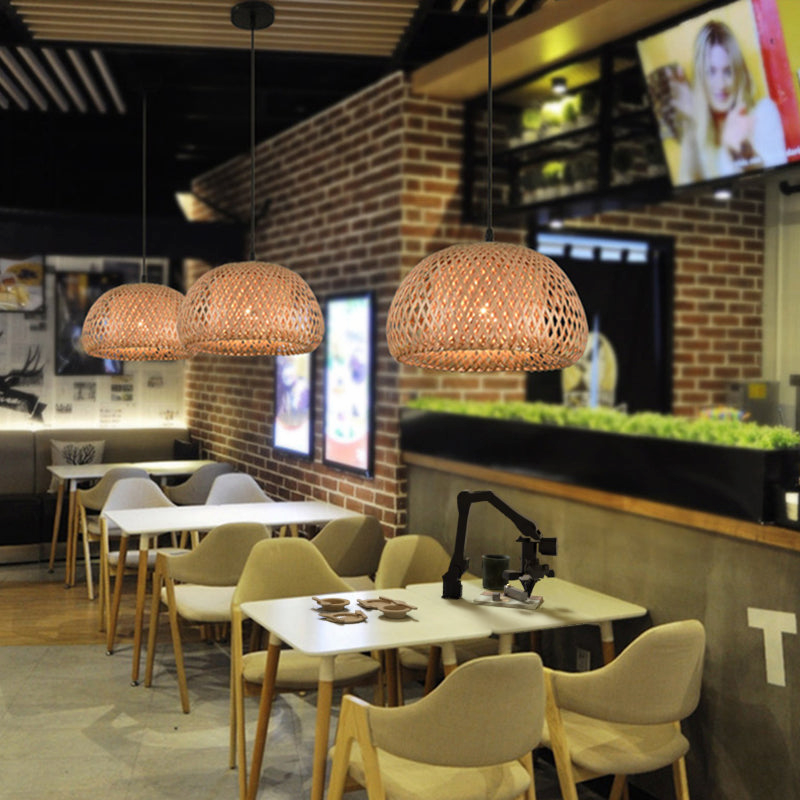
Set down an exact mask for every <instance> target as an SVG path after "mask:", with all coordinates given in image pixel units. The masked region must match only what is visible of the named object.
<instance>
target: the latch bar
mask: <svg viewBox="0 0 800 800" xmlns="http://www.w3.org/2000/svg"><path fill="white" fill-rule="evenodd" d="M503 593H504V595H508V596H510V597H513V598H515V599H518V600H520V601H527V592H526V591H524V589H521V588H518V587H516V586H514V585H512V584H510V583H509V584H507V585H506V586H504V589H503Z"/></svg>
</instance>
